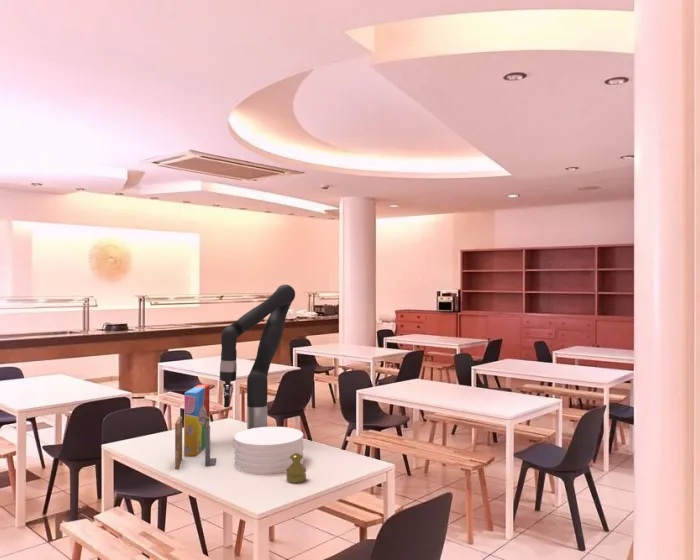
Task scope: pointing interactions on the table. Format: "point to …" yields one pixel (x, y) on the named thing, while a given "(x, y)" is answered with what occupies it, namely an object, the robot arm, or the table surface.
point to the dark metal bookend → (208, 449)
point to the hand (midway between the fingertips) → (226, 405)
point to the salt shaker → (296, 469)
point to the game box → (195, 419)
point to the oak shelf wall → (178, 442)
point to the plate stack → (266, 449)
